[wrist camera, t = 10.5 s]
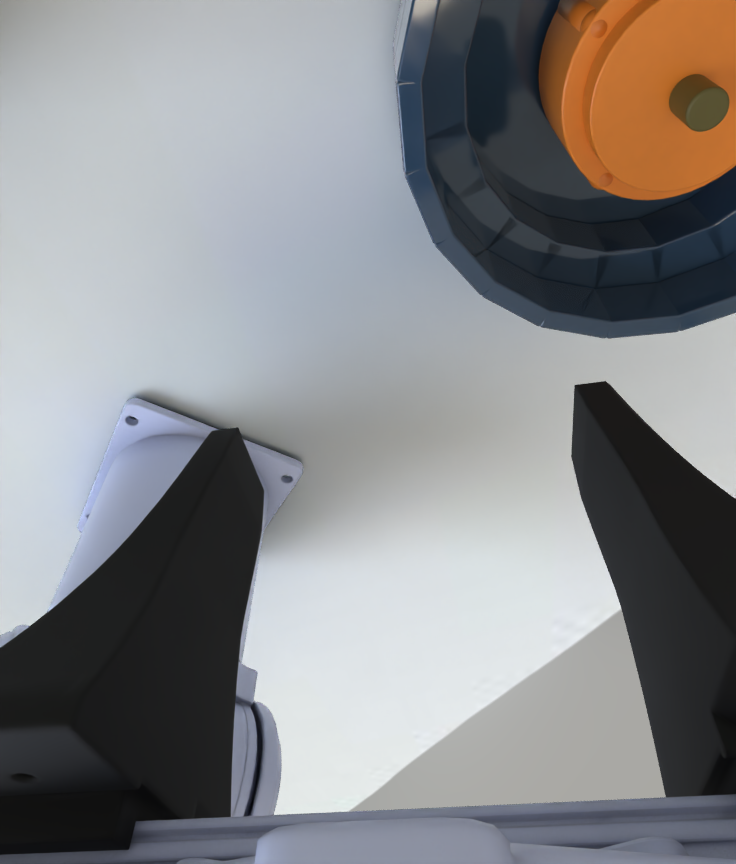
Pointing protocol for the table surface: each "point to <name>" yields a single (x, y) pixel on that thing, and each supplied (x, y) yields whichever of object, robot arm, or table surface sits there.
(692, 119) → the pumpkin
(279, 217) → the table surface
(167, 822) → the robot arm
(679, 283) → the bowl
